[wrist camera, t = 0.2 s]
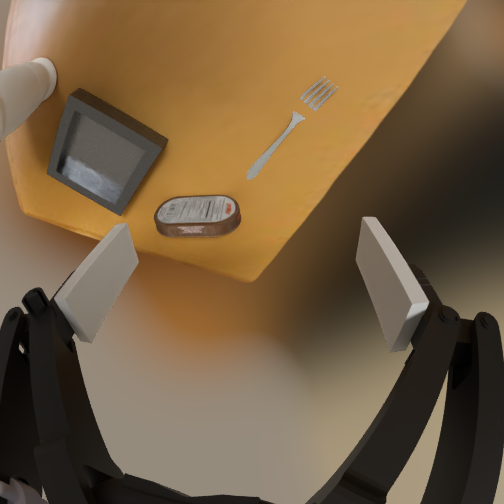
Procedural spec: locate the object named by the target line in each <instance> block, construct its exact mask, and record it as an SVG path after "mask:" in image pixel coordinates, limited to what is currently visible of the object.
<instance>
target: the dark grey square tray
mask: <svg viewBox="0 0 504 504" xmlns="http://www.w3.org/2000/svg"><path fill="white" fill-rule="evenodd" d="M167 141H168V139H167V138H165V137H164V136H162V135H160V134H159V133H157V132H155V131H154V130H152V129H151V128H149V127H147V126H146V125H144V124H142V123H141V122H139V121H137V120H136V119H134V118H132V117H130V116H129V115H127V114H125V113H124V112H122V111H120V110H118V109H117V108H115V107H113V106H111V105H110V104H108V103H106V102H104V101H103V100H101V99H99V98H97V97H95V96H94V95H92V94H90V93H88V92H86V91H85V90H83V89H81V88H79V89H78V90H76V91H74V92H73V93H71V94H70V95H69V98H68V100H67V103H66V106H65V109H64V112H63V115H62V118H61V121H60V124H59V127H58V131H57V134H56V138H55V141H54V145H53V149H52V153H51V157H50V161H49V166H48V171H47V174H48V175H50V176H51V177H53V178H55V179H56V180H58V181H60V182H62V183H63V184H65V185H67V186H68V187H70V188H72V189H74V190H75V191H77V192H79V193H80V194H82V195H84V196H86V197H87V198H89V199H91V200H93V201H95V202H96V203H98V204H100V205H102V206H103V207H105V208H107V209H109V210H111V211H112V212H114V213H116V214H118V215H120V216H121V214H122V213H123V211H124V209H125V207H126V206H127V204H128V202H129V200H130V199H131V197H132V195H133V194H134V192H135V190H136V189H137V187H138V185H139V184H140V182H141V181H142V179H143V177H144V176H145V174H146V173H147V171H148V170H149V168H150V167H151V165H152V164H153V162H154V161H155V159H156V158H157V156H158V155H159V153H160V152H161V150H162V149H163V147H164V146H165V144H166V142H167Z"/></svg>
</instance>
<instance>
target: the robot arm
mask: <svg viewBox="0 0 504 504" xmlns="http://www.w3.org/2000/svg"><path fill="white" fill-rule="evenodd" d="M356 262H357V264H358V267H359V269H360V272H361V274H362V276H363V279H364V281H365V284H366V287H367V289H368V292H369V294H370V297H371V299H372V302H373V305H374V308H375V310H376V313H377V316H378V319H379V321H380V324H381V327H382V330H383V333H384V336H385V339H386V342H387V345H388V348H389V351H390V352H397V351H404V350H406V348H407V347H408V345H409V343H410V341H411V344H412V346H413V350H412V352H411V354H410V355H409V357H408V359H407V360H406V362H405V366H404V368H403V370H402V372H401V374H400V376H399V378H398V380H397V382H396V383H395V385H394V387H393V389H392V391H391V392H390V394H389V396H388V398H387V399H386V401H385V403H384V404H383V406H382V408H381V409H380V411H379V413H378V414H377V416H376V417H375V419H374V420H373V422H372V424H371V425H370V427H369V428H368V430H367V431H366V432H365V434H364V435H363V437H362V438H361V440H360V441H359V442H358V444H357V445H356V447H355V448H354V449H353V451H352V452H351V453H350V455H349V456H348V457H347V459H346V460H345V461H344V462H343V464H342V465H341V466H340V467H339V469H338V470H337V471H336V472H335V473H334V475H333V476H332V477H331V478H330V479H329V480H328V482H327V483H326V484H325V485H324V486H323V487H322V488H321V489H320V490H319V491H318V492H317V493H316V494H315V495H314V496H312V497H311V498H310V500H308V502H307V503H306V504H385V503H386V496H387V493H388V492H389V490H390V488H391V487H392V485H393V484H394V482H395V481H396V479H397V478H398V476H399V475H400V473H401V471H402V470H403V468H404V466H405V465H406V463H407V461H408V460H409V458H410V456H411V454H412V452H413V451H414V449H415V447H416V445H417V443H418V441H419V439H420V437H421V435H422V433H423V431H424V429H425V427H426V425H427V423H428V420H429V418H430V416H431V413H432V411H433V409H434V406H435V404H436V402H437V399H438V397H439V394H440V391H441V389H442V386H443V383H444V380H445V377H446V374H447V371H448V382H447V393H446V401H445V409H444V415H443V421H442V427H441V432H440V437H439V442H438V447H437V451H436V455H435V459H434V463H433V467H432V471H431V474H430V477H429V480H428V484H427V487H426V489H425V493H424V495H423V498H422V501H421V503H420V504H493V501H494V497H495V493H496V489H497V484H498V480H499V475H500V469H501V463H502V456H503V448H504V358H503V350H502V342H501V336H500V330H499V325H498V323H497V321H496V319H495V318H494V317H493V316H492V315H491V314H489V313H486V312H479V313H478V314H477V315H476V317H475V318H474V320H468V319H461V318H460V316H459V314H458V313H457V312H456V311H455V310H454V309H452V308H451V307H448V306H445V305H443V304H442V303H441V301H440V299H439V297H438V296H437V294H436V292H435V291H434V289H433V287H432V286H431V285H430V282H429V281H428V279H426V276H425V274H424V273H423V271H422V270H421V269H419V268H418V267H417V266H416V265H415V264H407V263H406V262H405V260H404V259H403V257H402V255H401V254H400V253H399V251H398V249H397V248H396V246H395V245H394V243H393V242H392V240H391V239H390V237H389V236H388V234H387V233H386V231H385V230H384V229H383V227H382V226H381V224H380V223H379V221H378V220H377V219H376V217H363V218H362V224H361V232H360V238H359V244H358V249H357V255H356ZM138 263H139V261H138V258H137V254H136V251H135V248H134V245H133V242H132V238H131V235H130V231H129V228H128V224H127V223H123V224H116V225H115V226H114V227H113V228H112V229H111V231H110V232H109V233H108V234H107V235H106V236H105V237H104V238H103V239H102V240H101V241H100V243H99V244H98V245H97V246H96V247H95V248H94V249H93V250H92V252H91V253H90V254H89V255H88V256H87V257H86V259H85V260H84V261H83V262H82V263H81V264H80V266H79V267H78V268H77V269H76V270H75V271H73V272H72V273H71V274H70V275H69V277H68V278H67V280H66V281H65V282H64V283H63V284H62V286H61V287H60V288H59V290H58V291H57V292H56V294H55V295H54V296H53V297H52V299H51V300H50V301H49V300H48V298H47V297H46V295H45V293H44V291H43V290H42V288H40V287H39V288H34V289H32V290H30V291H29V292H28V293H26V294H25V296H24V297H23V299H22V303H23V305H24V306H25V308H26V310H27V311H28V314H24V312H23V311H22V309H21V308H20V307H15V308H12V309H11V310H9V311H8V313H7V314H6V316H5V318H4V320H3V323H2V326H1V329H0V504H274V503H271V502H268V501H264V500H261V499H260V498H259V497H246V496H232V495H213V496H199V497H191V496H188V495H186V494H184V493H181V492H179V491H176V490H174V489H171V488H168V487H166V486H163V485H160V484H158V483H155V482H153V481H149V480H145V479H142V478H139V477H135V476H132V475H128V474H126V473H125V475H124V474H123V473H122V471H121V470H120V468H119V467H118V466H117V465H116V464H115V463H114V462H113V460H112V459H111V457H110V455H109V453H108V450H107V448H106V446H105V443H104V441H103V438H102V436H101V433H100V430H99V428H98V425H97V422H96V420H95V416H94V413H93V410H92V408H91V404H90V401H89V398H88V395H87V391H86V388H85V384H84V380H83V376H82V373H81V368H80V364H79V360H78V355H77V351H76V346H75V342H74V340H73V339H72V336H73V334H74V333H75V334H76V335H77V337H78V338H79V340H80V341H83V342H88V343H92V341H93V340H94V338H95V336H96V333H97V332H98V330H99V328H100V327H101V325H102V323H103V321H104V319H105V317H106V316H107V314H108V312H109V311H110V309H111V307H112V305H113V304H114V302H115V300H116V299H117V297H118V295H119V293H120V292H121V290H122V289H123V287H124V285H125V284H126V282H127V280H128V279H129V277H130V276H131V274H132V272H133V271H134V269H135V268H136V266H137V265H138ZM19 344H20V345H21V346H22V348H23V349H24V353H21V351H20V350H19ZM42 486H43V488H44V491H45V494H46V497H47V500H48V502H47V501H46V500H44V499H42Z"/></svg>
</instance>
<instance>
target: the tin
mask: <svg viewBox="0 0 504 504" xmlns="http://www.w3.org/2000/svg"><path fill="white" fill-rule="evenodd" d="M154 220H155V223H156V226H157V230H158V232H159V233H160V234H162V235H163V236H166V237H219V236H223V235H226V234H228V233H230V232H232V231H234V230H235V229H236V228H237V227H238V226H239V224H240V222H241V215H240V209H239V205H238V203H237V202H236V201H235V200H234V199H233V198H231V197H229V196H225V195H203V196H181V197H175V198H172V199H169V200H167V201H165V202H164V203H162V204H161V205H160V206H159V207H158V209H157V210H156V212H155V215H154Z"/></svg>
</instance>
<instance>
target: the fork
mask: <svg viewBox="0 0 504 504" xmlns="http://www.w3.org/2000/svg"><path fill="white" fill-rule="evenodd" d="M325 78H326V77H323V78H322V79H321V80H319V81H318V82H316V83H315V84H314V85H313V86H312V87H311V88H309V89H308V90H307V91H306V92H305V93H304V94H303V95H302V96H301V98H300V100H303V98H304V97H305V96H306V95H307V94H308V93H309V92H310V91H311V90H313V89H314V88H315V87H316V86H317V85H318V84H319V83H320V82H321V81H322V80H323V79H325ZM329 81H330V80H328V81H327V82H325V83H324V84H323V85H321V86H320V87H319V88H318V89H317V90H316V91H315V92H313V93H312V94H311V95H310V96H309V97H308V98H307V99H306V100H304V102H305V103H306V104H308V103H309V101H310V100H311V98H312V97H313V96H314V95H316V94H317V93H318V92H319V91H320V90H321V89H322V88H323V87H324V86H325V85H326V84H327V83H328V82H329ZM333 85H334V83H333V84H332V85H330V86H329V87H328V88H326V89H325V90H324V91H323V92H322V93H321V94H320V95H319V96H318V97H317V98H315V99H314V100H313V101H312V103H310V104H309V107H311V108H312V109H313V110H314V111H316V110H317V109H318V108H319V107H320V106H321V105H322V104H323V103H324V102H325V101H326V99H327V98H328V97H329V96H330V95H331V94H332V93H333V92H334V91H335V90H336V89H337V88H338V87H336V88H335V89H333V90H332V91H331V92H330V93H329V94H328V95H327V96H326V97H325V98H324V99H323V100H322V101H321V102H320V103H319V104H318V105H317V106H316V107H314V104H315V103H316V102H317V101H318V100H319V99H320V98H321V97H322V96H323V95H324V94H325V93H326V92H327V91H328V90H329V89H330V88H331V87H332V86H333ZM313 107H314V108H313ZM304 119H306V118H305V117H303V116H301V115H300V114H298V113H296V112H294V111H293V116H292V120H291V123H290V125H289V126H288V128H287V129H286V130H285V132H284V133H283V134H282V135H281V136H280V137H279V138H278V139H277V140H276V141H275V143H274V144H273V145H272V146H271V147H270V148H269V149H268V150H267V151H266V152H264V153H263V154H262V155H261V156H260V158H259V159H258V160H257V161H256V162H255V163H254V164H253V166H252V167H251V168H250V169H249V171H248V173H247V179H248V180H250V179H253V178H254V177H255V176H256V175H257V174H258V173H259V171H260V170H261V169H262V167H263V166H264V164H265V163H266V162H267V160H268V159H269V158H270V156H271V155H272V153H273V152H274V151H275V149H276V148H277V147H278V145H279V144H280V143H281V142H282V141H283V139H284V138H285V137H286V136H287V135H288V134H289V132H290V131H291V130H292V129H293V128H294V126H295V125H296V124H297V123H298V122H300V121H302V120H304Z"/></svg>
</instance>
